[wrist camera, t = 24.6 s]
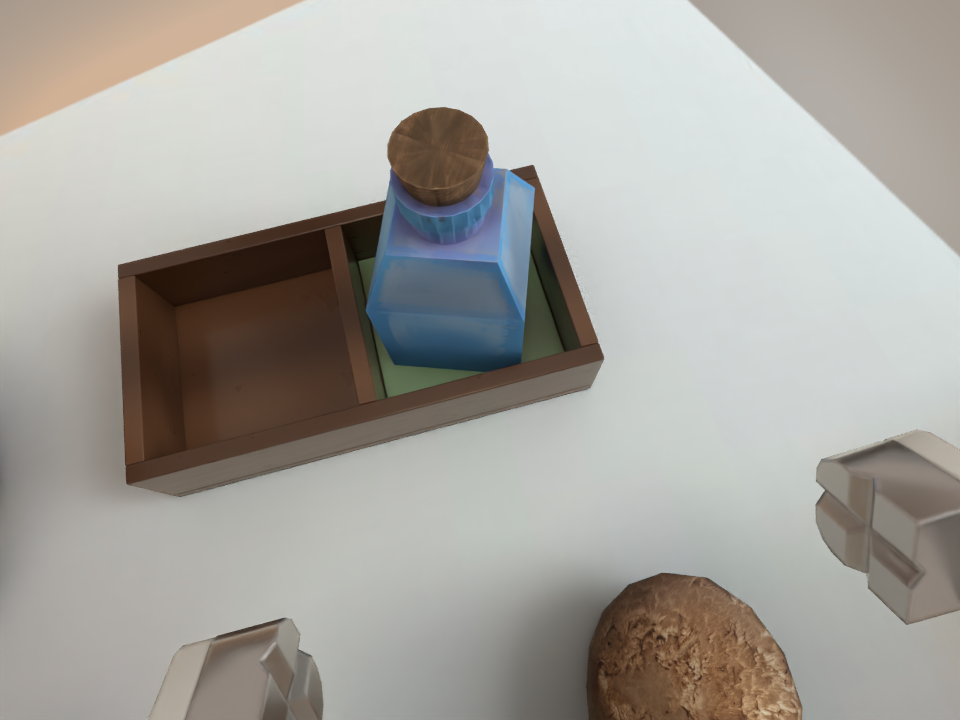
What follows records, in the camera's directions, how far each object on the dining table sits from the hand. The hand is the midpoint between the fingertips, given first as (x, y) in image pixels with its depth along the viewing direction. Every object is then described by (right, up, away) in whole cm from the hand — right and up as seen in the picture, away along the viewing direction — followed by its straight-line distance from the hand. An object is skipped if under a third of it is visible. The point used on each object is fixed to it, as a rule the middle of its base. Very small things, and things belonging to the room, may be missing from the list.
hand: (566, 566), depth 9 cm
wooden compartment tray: (-7, +4, +21) cm, 22 cm away
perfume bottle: (-2, +5, +20) cm, 21 cm away
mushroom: (+6, -10, +15) cm, 19 cm away
